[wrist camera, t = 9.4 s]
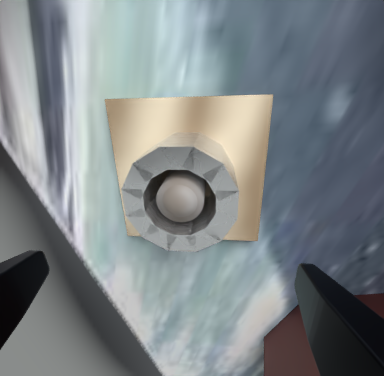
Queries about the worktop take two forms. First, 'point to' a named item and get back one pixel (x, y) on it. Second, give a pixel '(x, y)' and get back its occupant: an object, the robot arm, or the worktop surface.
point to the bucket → (300, 343)
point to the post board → (211, 127)
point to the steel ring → (213, 203)
